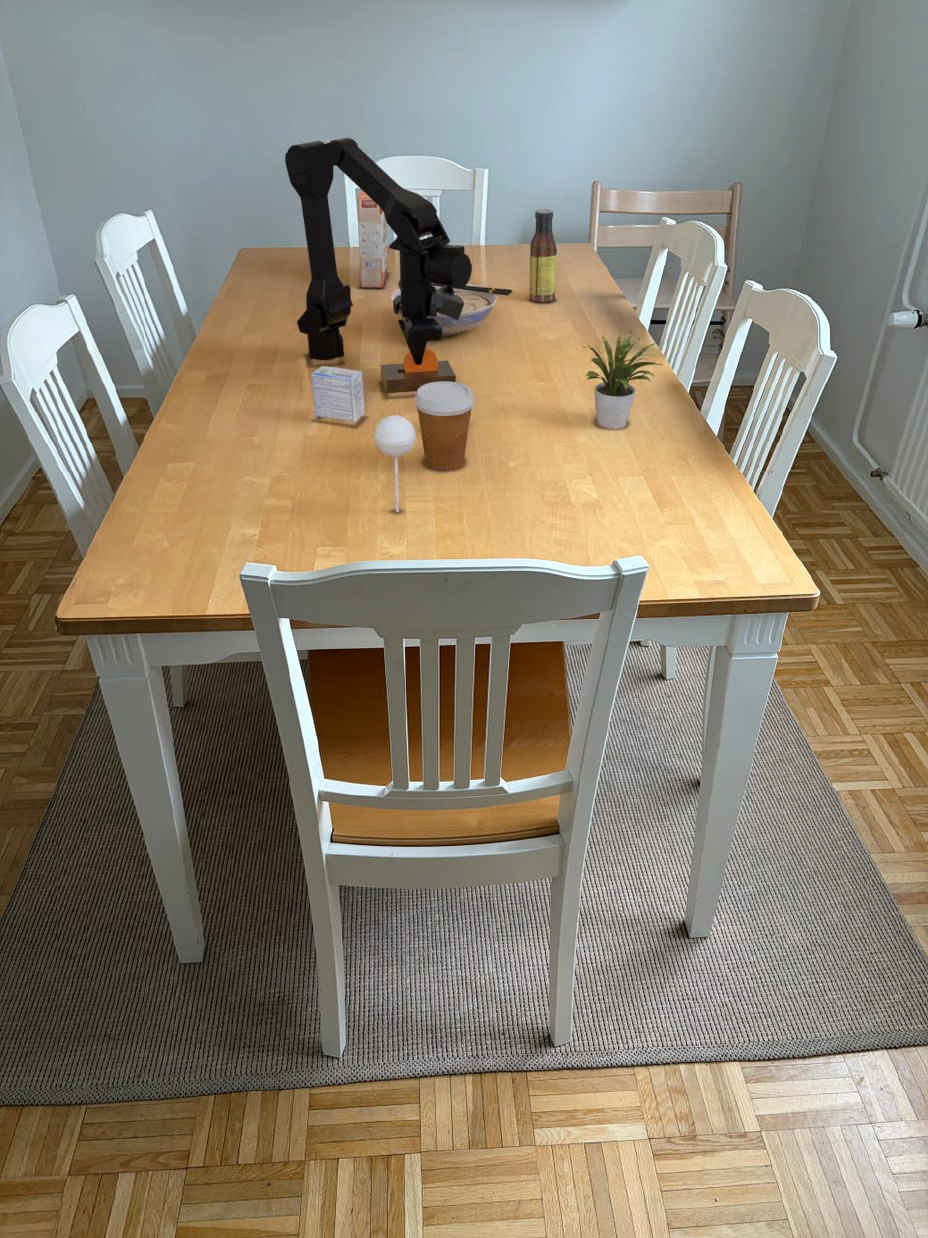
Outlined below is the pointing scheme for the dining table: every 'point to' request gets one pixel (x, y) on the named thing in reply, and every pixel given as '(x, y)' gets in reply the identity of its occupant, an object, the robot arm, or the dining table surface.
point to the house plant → (617, 382)
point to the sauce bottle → (543, 259)
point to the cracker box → (371, 242)
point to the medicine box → (338, 393)
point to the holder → (413, 377)
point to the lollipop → (395, 441)
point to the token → (427, 363)
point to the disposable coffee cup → (444, 422)
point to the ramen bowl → (467, 307)
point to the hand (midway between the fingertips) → (417, 363)
